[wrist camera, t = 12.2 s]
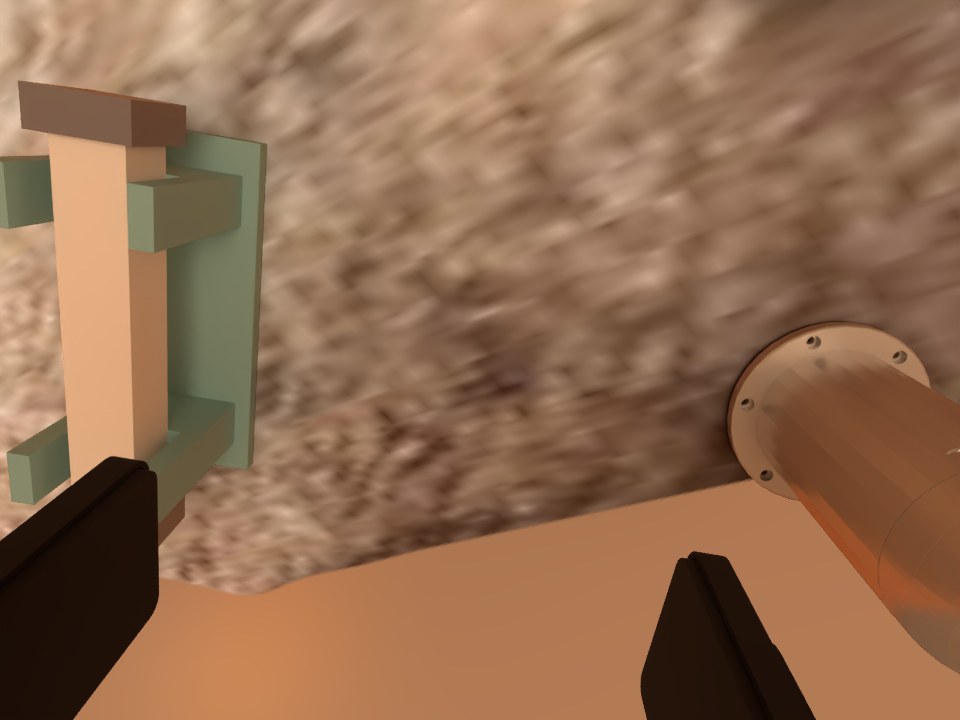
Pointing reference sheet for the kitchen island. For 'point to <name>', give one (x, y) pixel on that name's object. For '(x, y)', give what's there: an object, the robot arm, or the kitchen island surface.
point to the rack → (175, 306)
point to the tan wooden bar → (108, 270)
